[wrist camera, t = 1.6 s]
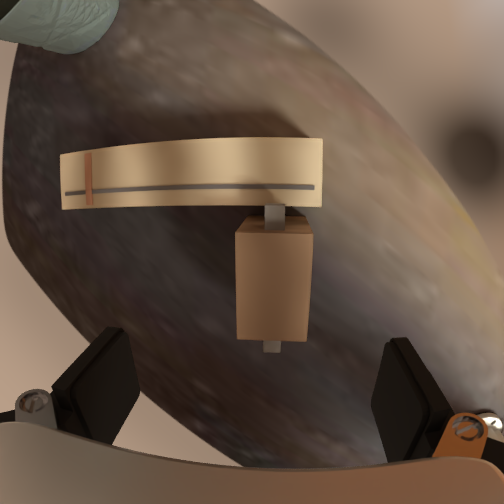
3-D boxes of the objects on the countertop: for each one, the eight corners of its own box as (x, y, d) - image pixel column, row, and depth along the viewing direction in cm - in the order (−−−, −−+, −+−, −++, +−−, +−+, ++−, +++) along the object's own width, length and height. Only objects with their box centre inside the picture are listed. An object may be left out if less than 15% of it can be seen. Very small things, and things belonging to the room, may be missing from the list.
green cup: (145, -2, 21) (80, -66, 9) (76, 80, 23) (-14, 54, 12) (90, -28, 20) (28, -75, 8) (32, 43, 22) (-44, 19, 11)
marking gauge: (305, 197, 24) (314, 208, 18) (300, 315, 27) (304, 360, 20) (248, 196, 25) (234, 206, 18) (248, 313, 27) (237, 357, 21)
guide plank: (316, 143, 23) (322, 138, 19) (315, 201, 24) (321, 207, 20) (86, 154, 25) (59, 154, 21) (88, 203, 26) (61, 209, 22)
